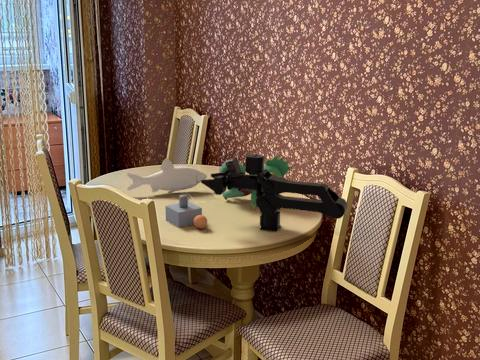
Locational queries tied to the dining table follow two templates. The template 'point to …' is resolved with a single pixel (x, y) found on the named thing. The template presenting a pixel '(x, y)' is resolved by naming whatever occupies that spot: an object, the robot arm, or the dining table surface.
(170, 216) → the block with rounded knob
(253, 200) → the toy
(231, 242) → the dining table surface
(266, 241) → the dining table surface
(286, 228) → the dining table surface
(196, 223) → the ball
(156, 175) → the fish
